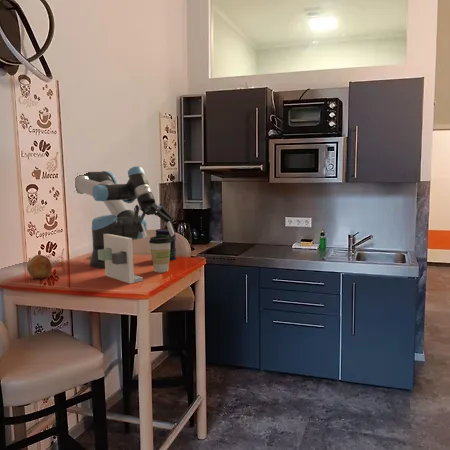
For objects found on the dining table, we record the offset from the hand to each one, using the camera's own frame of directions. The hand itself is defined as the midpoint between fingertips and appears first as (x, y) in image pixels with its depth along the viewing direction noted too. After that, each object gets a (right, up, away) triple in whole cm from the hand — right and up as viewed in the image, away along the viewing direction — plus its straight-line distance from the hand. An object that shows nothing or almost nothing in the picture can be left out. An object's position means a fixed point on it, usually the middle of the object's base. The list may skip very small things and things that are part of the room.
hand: (159, 236), depth 208 cm
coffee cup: (+1, -15, +1) cm, 16 cm away
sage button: (-20, -9, -11) cm, 25 cm away
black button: (-12, -10, -20) cm, 26 cm away
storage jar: (0, -12, +27) cm, 30 cm away
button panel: (-13, -17, -12) cm, 25 cm away
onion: (-49, -18, -9) cm, 53 cm away
